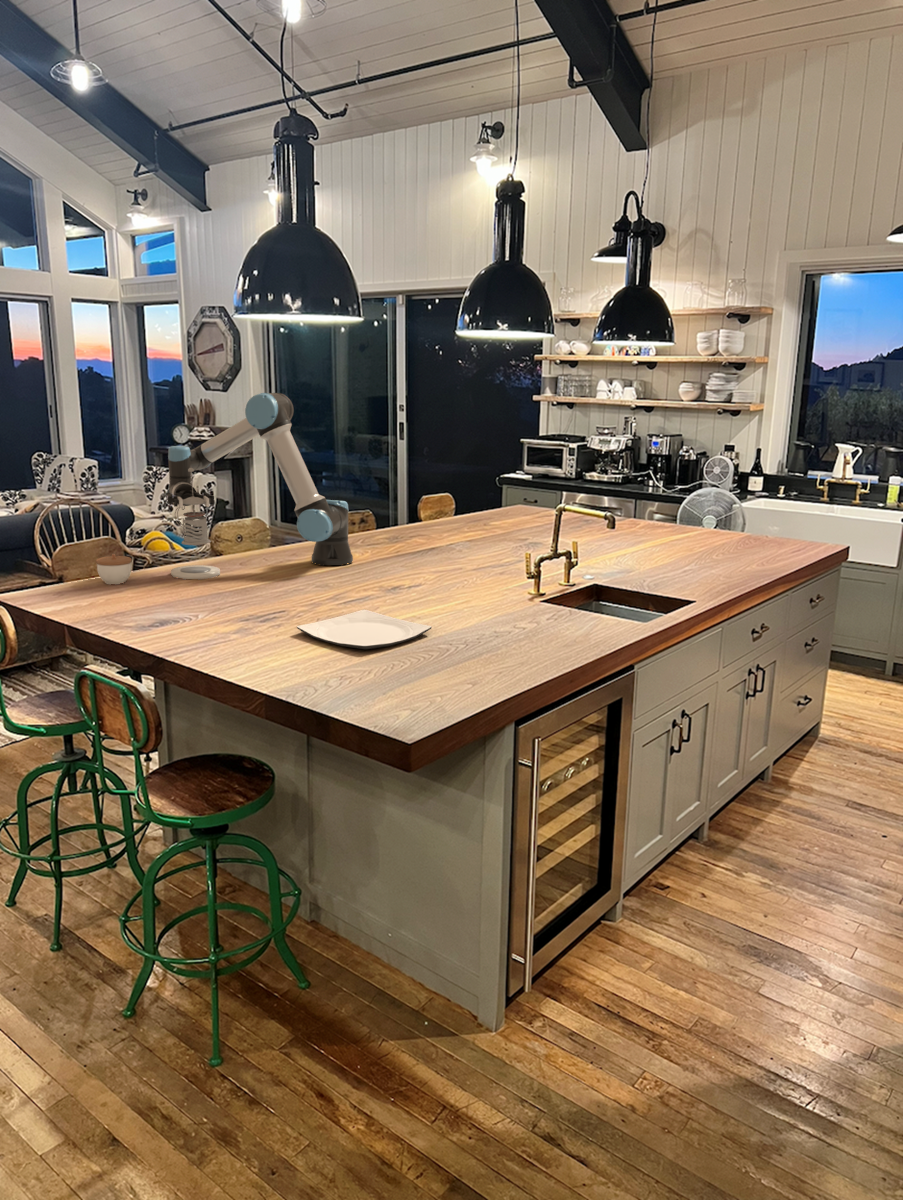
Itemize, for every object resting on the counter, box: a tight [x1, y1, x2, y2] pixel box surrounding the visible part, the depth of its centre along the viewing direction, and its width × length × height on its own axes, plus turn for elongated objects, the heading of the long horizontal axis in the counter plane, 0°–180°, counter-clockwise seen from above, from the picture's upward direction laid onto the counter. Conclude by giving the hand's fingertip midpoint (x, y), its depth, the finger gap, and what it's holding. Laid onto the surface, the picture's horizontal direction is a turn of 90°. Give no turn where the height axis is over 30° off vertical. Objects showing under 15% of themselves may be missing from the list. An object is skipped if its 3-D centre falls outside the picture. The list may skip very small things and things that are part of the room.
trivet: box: [170, 564, 221, 580], centre depth 311 cm, size 16×16×2 cm
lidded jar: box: [95, 553, 133, 585], centre depth 296 cm, size 11×11×9 cm
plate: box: [296, 609, 432, 650], centre depth 247 cm, size 29×29×3 cm
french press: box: [174, 468, 212, 546], centre depth 306 cm, size 10×12×25 cm
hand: (194, 503), depth 301 cm, fingers closed on french press, 8 cm apart
